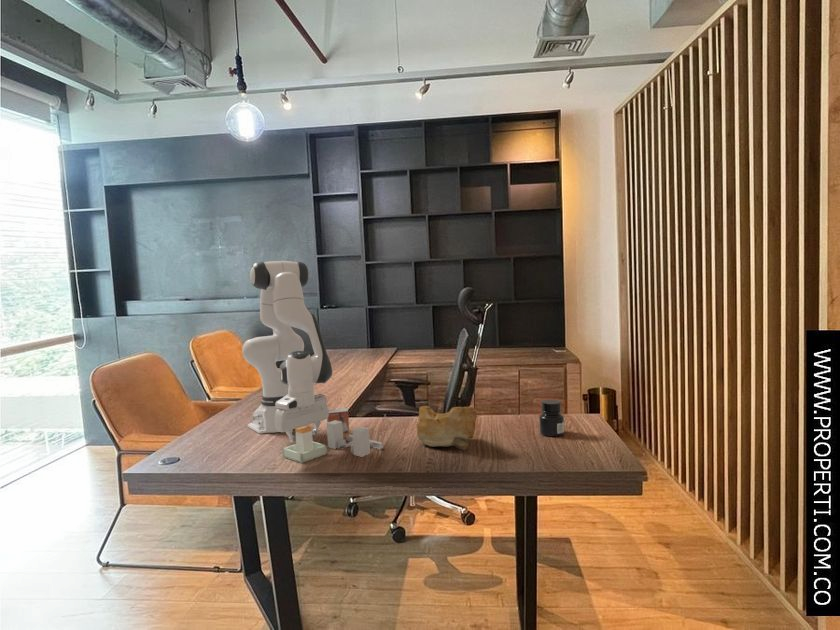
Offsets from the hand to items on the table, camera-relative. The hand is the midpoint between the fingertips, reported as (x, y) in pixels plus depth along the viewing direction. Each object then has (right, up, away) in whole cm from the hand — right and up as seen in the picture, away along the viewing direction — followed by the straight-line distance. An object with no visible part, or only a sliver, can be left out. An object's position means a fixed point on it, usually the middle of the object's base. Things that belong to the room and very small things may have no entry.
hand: (304, 437), depth 170 cm
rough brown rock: (+52, -4, +6) cm, 53 cm away
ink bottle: (+89, -2, +12) cm, 90 cm away
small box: (+9, -5, +19) cm, 22 cm away
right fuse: (+20, -5, -1) cm, 21 cm away
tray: (0, -6, 0) cm, 6 cm away
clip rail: (+17, -5, +6) cm, 19 cm away
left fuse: (+10, -5, +8) cm, 14 cm away
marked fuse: (0, -6, 0) cm, 6 cm away
